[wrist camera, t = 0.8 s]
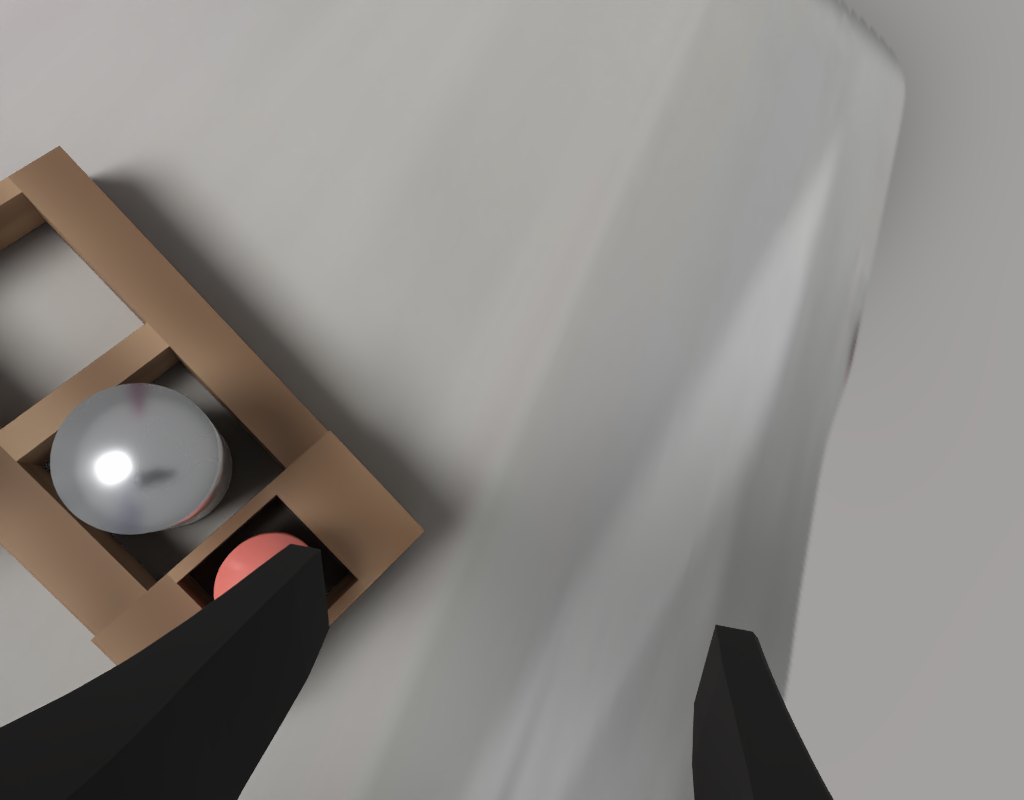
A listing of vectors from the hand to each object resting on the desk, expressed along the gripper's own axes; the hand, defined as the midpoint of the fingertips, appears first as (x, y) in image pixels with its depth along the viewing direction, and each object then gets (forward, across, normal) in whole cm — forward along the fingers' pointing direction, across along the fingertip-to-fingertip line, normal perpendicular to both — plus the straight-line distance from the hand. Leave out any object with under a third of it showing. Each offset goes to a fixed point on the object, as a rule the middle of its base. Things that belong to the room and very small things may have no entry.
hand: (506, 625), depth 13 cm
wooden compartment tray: (+8, +14, +4) cm, 17 cm away
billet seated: (+8, +14, +5) cm, 17 cm away
